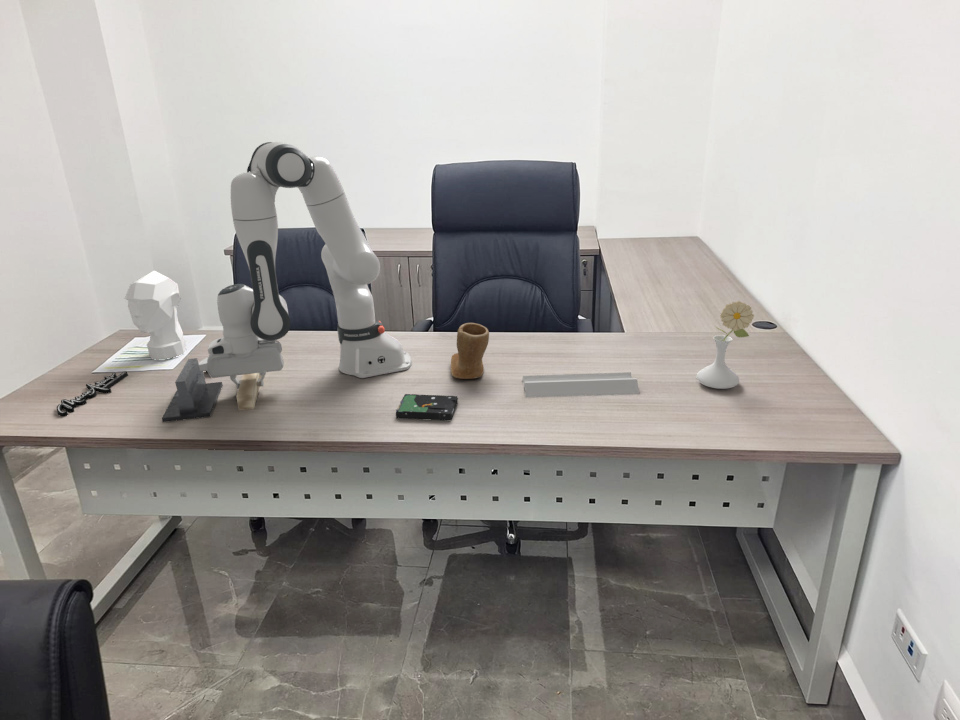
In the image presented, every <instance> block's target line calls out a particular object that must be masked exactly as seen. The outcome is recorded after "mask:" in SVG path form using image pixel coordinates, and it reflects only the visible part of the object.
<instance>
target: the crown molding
mask: <svg viewBox="0 0 960 720" xmlns="http://www.w3.org/2000/svg"><path fill="white" fill-rule="evenodd" d="M522 384H523V389H524V396H525V398H549V397H550V398H551V397H552V398H553V397H554V398H555V397H557V398H558V397H579V396H580V397H583V396H584V397H585V396H613V395H614V396H616V395H639V394H640V391H639V384H638V378H637V377H632V372H630V371H628V372H604V373H602V372H601V373H600V372H599V373H574V374H569V373H568V374H567V373H566V374H545V375H544V374H542V375H541V374H540V375H539V374H537V375H523V376H522Z"/></svg>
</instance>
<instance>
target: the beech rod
mask: <svg viewBox="0 0 960 720" xmlns="http://www.w3.org/2000/svg"><path fill="white" fill-rule="evenodd" d="M258 379H261V376H260V373H253V374H244V375H242V377H241V380H240V381H241V383H240V386H239V389H237V393H236V396H235V397H236V400H237V401H236V402H237V407H238V411H243V410H244V409H245V410H253V408H254V409H255V407H256V404H257V403H256V402H257V400H258V399H257V398H258V395H259V391H260V387H261V386H260V387H258V384H257V380H258Z"/></svg>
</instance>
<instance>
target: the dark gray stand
mask: <svg viewBox="0 0 960 720" xmlns="http://www.w3.org/2000/svg"><path fill="white" fill-rule="evenodd" d="M198 363H199V361H198V358H196V357H195V358H188V359H187V360H186V362H185V364H184V365H183V367H182V369H181V371H180V373H179V374H178V377H177V378H176V380H175V382H174V383H175V387H176V391H175V393H174V395H173V396H172V399H171V401H170V402H169V404H168V406H167V408H166V410H165V411H164V413H163V416H162V417H161V421H162V423H167V422H176V420H177V421H184V420H183V419H186V420H192V419H201V418H202V417H203V418H210V417H211V416H212V413H213V412H214V409H215V406H216V403H217V402H218V398H219V397H220V394H221V390H222V389H223V385H224V384H223V382H222V381H217V382H209V383H207V382H206V378H205V375H204V374H205V373H204V372H203V371H200V369H199V364H198ZM221 388H222V389H221ZM209 416H210V417H209Z"/></svg>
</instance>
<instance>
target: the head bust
mask: <svg viewBox="0 0 960 720" xmlns="http://www.w3.org/2000/svg"><path fill="white" fill-rule="evenodd" d="M179 289H180V288H179V283H177V282H176V281H174V280H173V279H171V278H170V277H168V276H166V275H164V274H162V273H161V272H158V271H156V270H152V271H151V272H148V273H147V274H145V275H143V276H142V277H140V278H139V279H136V280H135V281H133V282H132V283H130V284H129V286H128V289H127V291H126V294H125V297H124V299H125V300H126V301H127V308H128V311H129V314H130V317H131V320H132V324H133V325H134V326H136V328H138V330H139V332H140V333H142V334H145V333H149V334H150V335H149V336H150V337H149V340H148V342H147V343H146V346H147V350H148V354H149V357H150V359H152V360H153V359H156V360H155V361H157V360H159V359H167V358H172V357H176V356H179V355H181V354H183V353H184V352H185V350H186V351H187V346H186V341H185V337H184V332H183V329H182V326H181V324H180V322H179V320H178V311H177V310H178V309H177V308H178V307H179V305H180V302H181V300H182V298H181V296H180V290H179ZM185 353H186V352H185ZM185 353H184V354H185ZM184 354H183V355H184ZM181 356H182V355H181ZM179 357H180V356H179ZM172 359H173V358H172Z"/></svg>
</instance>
